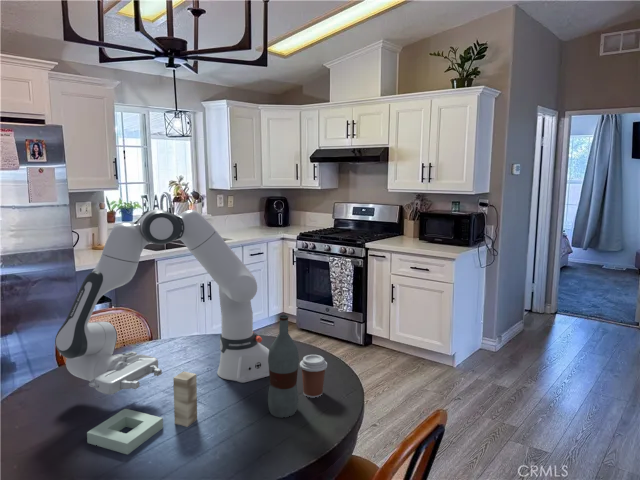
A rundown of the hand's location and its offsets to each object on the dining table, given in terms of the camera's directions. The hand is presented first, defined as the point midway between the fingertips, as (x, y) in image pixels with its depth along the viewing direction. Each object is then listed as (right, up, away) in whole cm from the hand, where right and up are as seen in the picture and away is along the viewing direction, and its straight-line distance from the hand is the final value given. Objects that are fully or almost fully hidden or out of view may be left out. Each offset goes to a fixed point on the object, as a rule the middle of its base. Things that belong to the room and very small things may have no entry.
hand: (149, 379), depth 136 cm
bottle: (+39, -11, +5) cm, 41 cm away
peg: (+12, -12, -2) cm, 17 cm away
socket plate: (-3, -12, -10) cm, 16 cm away
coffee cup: (+48, -10, +16) cm, 52 cm away
